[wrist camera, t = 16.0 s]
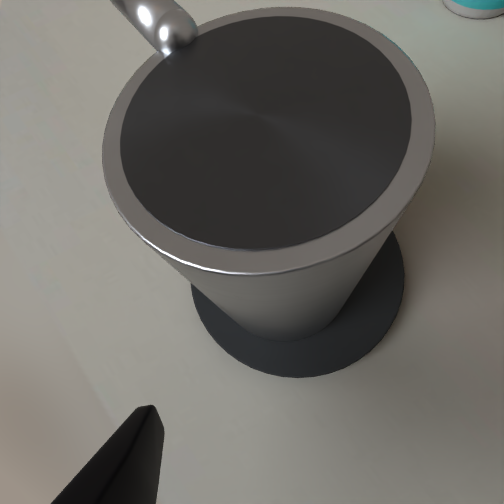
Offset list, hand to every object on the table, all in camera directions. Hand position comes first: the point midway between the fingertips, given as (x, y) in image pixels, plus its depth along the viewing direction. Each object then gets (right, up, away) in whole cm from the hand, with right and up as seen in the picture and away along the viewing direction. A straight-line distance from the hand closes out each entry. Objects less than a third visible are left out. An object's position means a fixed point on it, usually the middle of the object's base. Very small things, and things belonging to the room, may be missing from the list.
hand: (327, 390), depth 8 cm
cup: (-1, +3, +7) cm, 8 cm away
